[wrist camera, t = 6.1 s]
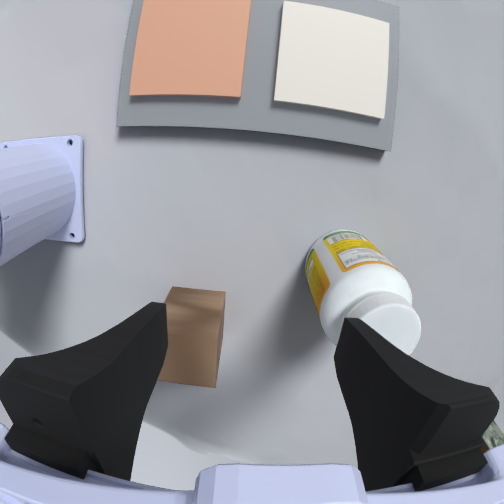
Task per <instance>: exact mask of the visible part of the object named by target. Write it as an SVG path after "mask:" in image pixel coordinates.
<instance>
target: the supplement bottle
mask: <svg viewBox="0 0 504 504" xmlns="http://www.w3.org/2000/svg"><path fill="white" fill-rule="evenodd" d="M305 273H306V278H307V281H308V284H309V288H310V291H311V293H312V297H313V300H314V303H315V306H316V309H317V312H318V316H319V319H320V322H321V325H322V328H323V330H324V332H325V334H326V336H327V337H328V338H329V340H330V341H331V342H332V343H334V344H335V345H336V346H337V344H338V340H339V337H340V333H341V329H342V325H343V322H344V318H345V317H346V318H359V319H361V320H362V321H364V322H365V323H366V324H368V325H369V326H370V327H371V328H373V329H374V330H375V331H376V332H378V333H379V334H380V335H381V336H383V337H384V338H385V339H386V340H388V341H389V342H390V343H392V344H393V345H394V346H396V347H397V348H398V349H400V350H401V351H403V352H404V353H406V354H407V355H410V354H411V353H412V351H413V350H414V348H415V347H416V345H417V343H418V341H419V338H420V334H421V323H420V319H419V316H418V315H417V313H416V312H415V310H414V309H413V308H412V295H411V290H410V287H409V285H408V283H407V281H406V279H405V278H404V277H403V276H402V274H401V273H400V272H399V271H398V270H397V269H396V268H395V267H394V266H393V265H392V264H391V263H390V262H389V261H388V260H387V259H386V258H385V256H384V255H383V254H382V253H381V252H380V251H379V250H378V249H377V248H376V247H375V246H374V245H373V244H372V243H371V242H370V241H369V240H368V239H367V238H366V237H364V236H363V235H361V234H360V233H358V232H355V231H352V230H335V231H332V232H329V233H327V234H325V235H323V236H322V237H321V238H319V239H318V240H317V241H316V242H315V243H314V244H313V246H312V247H311V249H310V250H309V252H308V255H307V258H306V264H305Z"/></svg>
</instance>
